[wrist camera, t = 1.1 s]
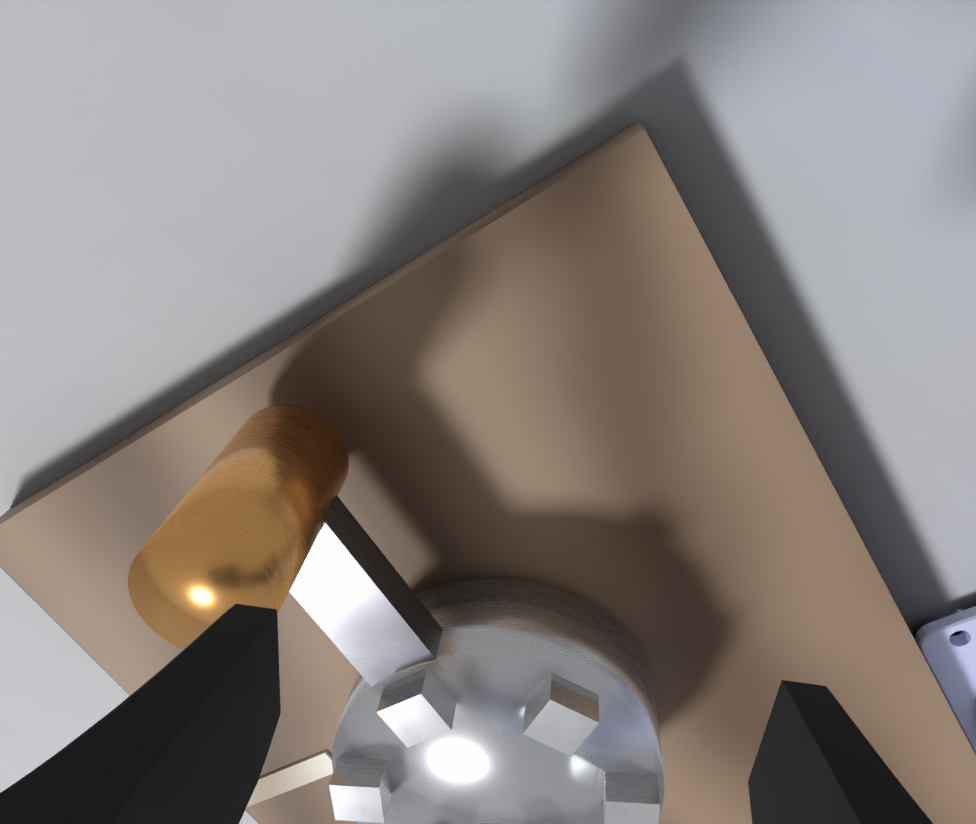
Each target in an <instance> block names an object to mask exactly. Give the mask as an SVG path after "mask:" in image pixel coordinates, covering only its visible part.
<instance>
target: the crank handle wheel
mask: <svg viewBox="0 0 976 824" xmlns="http://www.w3.org/2000/svg"><path fill="white" fill-rule="evenodd" d="M348 469H349V457H348V452H347V449H346V446H345V443H344V442H343V440H342V438H341V436H340V435H339V433H338V432H337V431H336V429H335V428H334V427H333V426H332V425H331V424H330V423H329V422H328V421H326V420H325V419H324V418H322V417H321V416H319V415H318V414H316V413H314V412H312V411H310V410H307V409H304V408H301V407H297V406H292V405H276V406H271V407H267V408H264V409H262V410H260V411H258V412H256V413H255V414H253V415H252V416H251V417H250V418H248V419H247V420H246V422H245V423H244V424H243V425H242V427H241V428H240V429H239V430H238V432H237V433H236V434H235V435H234V436H233V438H232V439H231V440H230V441H229V443H228V444H227V445H226V446H225V447H224V449H223V450H222V451H221V452H220V454H219V455H218V456H217V457H216V458H215V460H214V461H213V462H212V463H211V465H210V466H209V467H208V468H207V469H206V471H205V472H204V473H203V474H202V476H201V477H200V478H199V479H198V480H197V482H196V483H195V484H194V485H193V487H192V488H191V489H190V490H189V492H188V493H187V494H186V495H185V496H184V498H183V499H182V500H181V501H180V503H179V504H178V505H177V506H176V507H175V509H174V510H173V511H172V512H171V514H170V515H169V516H168V517H167V518H166V520H165V521H164V522H163V523H162V525H161V526H160V527H159V528H158V529H157V531H156V532H155V533H154V534H153V536H152V537H151V538H150V539H149V541H148V542H147V543H146V544H145V545H144V547H143V548H142V549H141V550H140V552H139V553H138V554H137V555H136V557H135V558H134V560H133V562H132V564H131V566H130V569H129V573H128V590H129V594H130V598H131V600H132V603H133V605H134V607H135V609H136V611H137V612H138V614H139V615H140V617H141V618H142V619H143V621H144V622H145V623H146V624H147V625H148V626H149V627H150V628H151V629H152V630H153V631H154V632H155V633H157V634H158V635H159V636H160V637H162V638H163V639H165V640H166V641H168V642H170V643H171V644H173V645H175V646H177V647H179V648H182V649H185V648H186V647H187V646H188V645H189V644H191V643H192V642H193V641H194V640H195V639H196V638H197V637H198V636H199V635H200V634H202V633H203V632H204V631H205V630H206V629H207V628H208V627H209V626H210V625H212V624H213V623H214V622H215V621H216V620H217V619H218V618H219V617H220V616H221V615H223V614H224V613H225V612H226V611H227V610H228V609H229V608H231V607H232V606H234V605H235V604H242V605H249V606H257V607H264V608H271V609H277V616H278V614H279V612H280V610H281V608H282V606H283V604H284V602H285V600H286V598H287V596H288V594H289V592H290V593H291V594H292V595H293V596H294V598H295V599H296V600H297V601H298V602H299V603H300V605H301V606H302V607H303V608H304V609H305V610H306V611H307V613H308V614H309V615H310V616H311V617H312V618H313V620H314V621H315V622H316V623H317V624H318V625H319V627H320V628H321V629H322V630H323V631H324V632H325V634H326V635H327V636H328V637H329V638H330V639H331V641H332V642H333V643H334V644H335V645H336V646H337V648H338V649H339V650H340V651H341V652H342V653H343V654H344V656H345V657H346V658H347V659H348V660H349V661H350V663H351V664H352V665H353V666H354V667H355V668H356V670H357V673H356V676H355V679H354V682H353V685H352V688H351V691H350V694H349V697H348V700H347V703H346V706H345V709H344V712H343V715H342V718H341V721H340V724H339V727H338V730H337V733H336V736H335V740H334V743H333V752H332V767H333V774H332V777H331V780H330V783H329V788H330V793H331V799H332V804H333V810H334V815H335V820H343V821H356V822H357V824H659V814H660V812H661V809H662V804H663V798H664V772H663V763H662V754H661V744H660V735H659V726H658V716H657V707H656V698H655V688H654V683H653V678H652V674H651V671H650V668H649V666H648V663H647V661H646V658H645V656H644V655H643V653H642V651H641V649H640V648H639V646H638V644H637V643H636V642H635V640H634V639H633V638H632V637H631V635H630V634H629V633H628V632H627V630H626V629H625V628H623V627H622V626H621V625H620V624H619V623H618V622H617V621H616V620H615V619H614V618H613V617H612V616H610V615H609V614H608V613H606V612H605V611H603V610H602V609H601V608H599V607H598V606H596V605H595V604H593V603H591V602H589V601H588V600H586V599H584V598H582V597H581V596H578V595H576V594H574V593H571V592H569V591H567V590H564V589H562V588H559V587H556V586H552V585H549V584H546V583H542V582H538V581H533V580H527V579H522V578H512V577H500V576H497V577H475V578H467V579H460V580H455V581H451V582H447V583H443V584H440V585H437V586H434V587H432V588H429V589H427V590H424V591H422V592H420V593H418V594H416V595H415V593H414V592H413V591H412V589H411V588H410V587H409V586H408V584H407V583H406V582H405V581H404V579H403V578H402V577H401V576H400V574H399V573H398V572H397V571H396V569H395V568H394V567H393V565H392V564H391V563H390V562H389V560H388V559H387V558H386V557H385V555H384V554H383V553H382V552H381V550H380V549H379V548H378V547H377V545H376V544H375V543H374V541H373V540H372V539H371V538H370V536H369V535H368V534H367V533H366V531H365V530H364V529H363V528H362V526H361V525H360V524H359V523H358V521H357V520H356V519H355V517H354V516H353V515H352V514H351V512H350V511H349V510H348V509H347V507H346V506H345V505H344V504H343V502H342V501H341V500H340V499H339V497H338V494H339V492H340V490H341V488H342V486H343V484H344V482H345V480H346V477H347V474H348Z"/></svg>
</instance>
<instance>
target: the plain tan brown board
mask: <svg viewBox="0 0 976 824" xmlns="http://www.w3.org/2000/svg"><path fill="white" fill-rule="evenodd" d="M276 405H292V406H297V407H301V408H304V409H307V410H310V411H312V412H314V413H316V414H318V415H319V416H321V417H322V418H324V419H325V420H326V421H328V422H329V423H330V424H331V425H332V426H333V427H334V428H335V429H336V431H337V432H338V433H339V435H340V436H341V438H342V440H343V442H344V443H345V446H346V449H347V452H348V457H349V469H348V474H347V477H346V480H345V482H344V484H343V486H342V488H341V490H340V492H339V494H338V497H339V499H340V500H341V501H342V502H343V504H344V505H345V506H346V507H347V509H348V510H349V511H350V512H351V514H352V515H353V516H354V517H355V519H356V520H357V521H358V523H359V524H360V525H361V526H362V528H363V529H364V530H365V531H366V533H367V534H368V535H369V536H370V538H371V539H372V540H373V541H374V543H375V544H376V545H377V547H378V548H379V549H380V550H381V552H382V553H383V554H384V555H385V557H386V558H387V559H388V560H389V562H390V563H391V564H392V565H393V567H394V568H395V569H396V571H397V572H398V573H399V574H400V576H401V577H402V578H403V579H404V581H405V582H406V583H407V584H408V586H409V587H410V588H411V589H412V591H413V592H414V593H415V595H416V594H418V593H420V592H422V591H424V590H427V589H429V588H432V587H434V586H437V585H440V584H443V583H447V582H451V581H455V580H460V579H467V578H475V577H497V576H500V577H512V578H522V579H527V580H533V581H538V582H542V583H546V584H549V585H552V586H556V587H559V588H562V589H564V590H567V591H569V592H571V593H574V594H576V595H578V596H581V597H582V598H584V599H586V600H588V601H589V602H591V603H593V604H595V605H596V606H598V607H599V608H601V609H602V610H603V611H605V612H606V613H608V614H609V615H610V616H612V617H613V618H614V619H615V620H616V621H617V622H618V623H619V624H620V625H621V626H622V627H623V628H625V629H626V630H627V632H628V633H629V634H630V635H631V637H632V638H633V639H634V640H635V642H636V643H637V644H638V646H639V648H640V649H641V651H642V653H643V655H644V656H645V658H646V661H647V663H648V666H649V668H650V671H651V674H652V678H653V683H654V688H655V698H656V707H657V716H658V726H659V735H660V744H661V754H662V763H663V772H664V798H663V804H662V809H661V812H660V814H659V824H752V815H751V806H750V796H749V787H748V780H749V777H750V774H751V771H752V768H753V765H754V762H755V759H756V756H757V753H758V750H759V747H760V744H761V741H762V738H763V735H764V732H765V729H766V726H767V723H768V720H769V717H770V714H771V711H772V708H773V705H774V702H775V699H776V696H777V693H778V690H779V687H780V684H781V681H782V680H786V681H793V682H801V683H808V684H815V685H822V686H827V688H828V689H829V690H830V692H831V693H832V694H833V695H834V697H835V698H836V699H837V701H838V702H839V703H840V705H841V706H842V707H843V709H844V710H845V711H846V713H847V714H848V715H849V717H850V718H851V719H852V720H853V722H854V723H855V724H856V726H857V727H858V728H859V730H860V731H861V732H862V734H863V735H864V736H865V738H866V739H867V740H868V742H869V743H870V744H871V745H872V747H873V748H874V749H875V751H876V752H877V753H878V755H879V756H880V757H881V758H882V760H883V761H884V762H885V764H886V765H887V766H888V768H889V769H890V770H891V771H892V773H893V774H894V775H895V777H896V778H897V779H898V780H899V782H900V783H901V784H902V786H903V787H904V788H905V789H906V791H907V792H908V793H909V794H910V796H911V797H912V798H913V799H914V801H915V802H916V803H917V804H918V806H919V807H920V808H921V809H922V810H923V812H924V813H925V814H926V815H927V817H928V818H929V819H930V820H931V822H932V823H933V824H976V755H975V753H974V751H973V749H972V747H971V745H970V744H969V742H968V740H967V738H966V736H965V734H964V732H963V730H962V728H961V727H960V725H959V723H958V721H957V719H956V717H955V715H954V713H953V711H952V709H951V708H950V706H949V704H948V702H947V700H946V698H945V696H944V694H943V692H942V691H941V689H940V687H939V685H938V683H937V681H936V679H935V677H934V675H933V673H932V672H931V670H930V668H929V666H928V664H927V662H926V660H925V658H924V656H923V655H922V653H921V651H920V649H919V647H918V645H917V643H916V641H915V639H914V638H913V636H912V634H911V632H910V630H909V628H908V626H907V624H906V622H905V620H904V619H903V617H902V615H901V613H900V611H899V609H898V607H897V605H896V603H895V602H894V600H893V598H892V596H891V594H890V592H889V590H888V588H887V586H886V584H885V583H884V581H883V579H882V577H881V575H880V573H879V571H878V569H877V567H876V566H875V564H874V562H873V560H872V558H871V556H870V554H869V552H868V550H867V549H866V547H865V545H864V543H863V541H862V539H861V537H860V535H859V533H858V531H857V530H856V528H855V526H854V524H853V522H852V520H851V518H850V516H849V514H848V513H847V511H846V509H845V507H844V505H843V503H842V501H841V499H840V497H839V495H838V494H837V492H836V490H835V488H834V486H833V484H832V482H831V480H830V478H829V477H828V475H827V473H826V471H825V469H824V467H823V465H822V463H821V461H820V460H819V458H818V456H817V454H816V452H815V450H814V448H813V446H812V444H811V442H810V441H809V439H808V437H807V435H806V433H805V431H804V429H803V427H802V425H801V424H800V422H799V420H798V418H797V416H796V414H795V412H794V410H793V408H792V406H791V405H790V403H789V401H788V399H787V397H786V395H785V393H784V391H783V389H782V388H781V386H780V384H779V382H778V380H777V378H776V376H775V374H774V372H773V371H772V369H771V367H770V365H769V363H768V361H767V359H766V357H765V355H764V353H763V352H762V350H761V348H760V346H759V344H758V342H757V340H756V338H755V336H754V335H753V333H752V331H751V329H750V327H749V325H748V323H747V321H746V319H745V317H744V316H743V314H742V312H741V310H740V308H739V306H738V304H737V302H736V300H735V299H734V297H733V295H732V293H731V291H730V289H729V287H728V285H727V283H726V282H725V280H724V278H723V276H722V274H721V272H720V270H719V268H718V266H717V264H716V263H715V261H714V259H713V257H712V255H711V253H710V251H709V249H708V247H707V246H706V244H705V242H704V240H703V238H702V236H701V234H700V232H699V230H698V228H697V227H696V225H695V223H694V221H693V219H692V217H691V215H690V213H689V211H688V210H687V208H686V206H685V204H684V202H683V200H682V198H681V196H680V194H679V193H678V191H677V189H676V187H675V185H674V183H673V181H672V179H671V177H670V175H669V174H668V172H667V170H666V168H665V166H664V164H663V162H662V160H661V158H660V157H659V155H658V153H657V151H656V149H655V147H654V145H653V143H652V141H651V139H650V138H649V136H648V134H647V132H646V130H645V128H644V126H643V124H642V122H641V121H640V120H638V121H636V122H635V123H633V124H632V125H630V126H628V127H627V128H625V129H624V130H622V131H620V132H619V133H617V134H615V135H614V136H612V137H611V138H609V139H607V140H606V141H604V142H603V143H601V144H599V145H598V146H596V147H594V148H593V149H591V150H590V151H588V152H586V153H585V154H583V155H582V156H580V157H578V158H577V159H575V160H573V161H572V162H570V163H569V164H567V165H565V166H564V167H562V168H561V169H559V170H557V171H556V172H554V173H552V174H551V175H549V176H548V177H546V178H544V179H543V180H541V181H540V182H538V183H536V184H535V185H533V186H531V187H530V188H528V189H527V190H525V191H523V192H522V193H520V194H519V195H517V196H515V197H514V198H512V199H510V200H509V201H507V202H506V203H504V204H502V205H501V206H499V207H497V208H496V209H494V210H493V211H491V212H489V213H488V214H486V215H485V216H483V217H481V218H480V219H478V220H476V221H475V222H473V223H472V224H470V225H468V226H467V227H465V228H464V229H462V230H460V231H459V232H457V233H455V234H454V235H452V236H451V237H449V238H447V239H446V240H444V241H443V242H441V243H439V244H438V245H436V246H434V247H433V248H431V249H430V250H428V251H426V252H425V253H423V254H422V255H420V256H418V257H417V258H415V259H413V260H412V261H410V262H409V263H407V264H405V265H404V266H402V267H401V268H399V269H397V270H396V271H394V272H392V273H391V274H389V275H388V276H386V277H384V278H383V279H381V280H380V281H378V282H376V283H375V284H373V285H371V286H370V287H368V288H367V289H365V290H363V291H362V292H360V293H359V294H357V295H355V296H354V297H352V298H350V299H349V300H347V301H346V302H344V303H342V304H341V305H339V306H338V307H336V308H334V309H333V310H331V311H329V312H328V313H326V314H325V315H323V316H321V317H320V318H318V319H317V320H315V321H313V322H312V323H310V324H308V325H307V326H305V327H304V328H302V329H300V330H299V331H297V332H296V333H294V334H292V335H291V336H289V337H287V338H286V339H284V340H283V341H281V342H279V343H278V344H276V345H275V346H273V347H271V348H270V349H268V350H266V351H265V352H263V353H262V354H260V355H258V356H257V357H255V358H253V359H252V360H250V361H249V362H247V363H245V364H244V365H242V366H241V367H239V368H237V369H236V370H234V371H232V372H231V373H229V374H228V375H226V376H224V377H223V378H221V379H220V380H218V381H216V382H215V383H213V384H211V385H210V386H208V387H207V388H205V389H203V390H202V391H200V392H199V393H197V394H195V395H194V396H192V397H190V398H189V399H187V400H186V401H184V402H182V403H181V404H179V405H178V406H176V407H174V408H173V409H171V410H169V411H168V412H166V413H165V414H163V415H161V416H160V417H158V418H157V419H155V420H153V421H152V422H150V423H148V424H147V425H145V426H144V427H142V428H140V429H139V430H137V431H136V432H134V433H132V434H131V435H129V436H127V437H126V438H124V439H123V440H121V441H119V442H118V443H116V444H115V445H113V446H111V447H110V448H108V449H106V450H105V451H103V452H102V453H100V454H98V455H97V456H95V457H94V458H92V459H90V460H89V461H87V462H85V463H84V464H82V465H81V466H79V467H77V468H76V469H74V470H73V471H71V472H69V473H68V474H66V475H64V476H63V477H61V478H60V479H58V480H56V481H55V482H53V483H52V484H50V485H48V486H47V487H45V488H43V489H42V490H40V491H39V492H37V493H35V494H34V495H32V496H30V497H29V498H27V499H26V500H24V501H22V502H21V503H19V504H18V505H16V506H14V507H13V508H11V509H9V510H8V511H7V512H6V513H5V514H3V515H2V516H1V517H0V567H1V568H2V569H3V570H4V571H5V572H6V573H7V574H8V575H9V576H10V577H11V578H12V579H13V580H14V581H15V582H16V583H17V584H18V585H19V586H20V587H21V588H22V589H23V590H24V591H25V592H26V593H27V594H28V595H29V596H30V597H31V598H32V599H33V600H34V601H35V602H36V603H37V604H38V605H39V606H40V607H41V608H42V609H43V610H44V611H45V612H46V613H47V614H48V615H49V616H50V617H51V618H52V619H53V620H54V621H55V622H56V623H57V624H58V625H59V626H60V627H61V628H62V629H63V630H64V631H65V632H66V633H67V634H68V635H69V636H70V637H71V638H72V639H73V640H74V641H75V642H76V643H77V644H78V645H79V646H80V647H81V648H82V649H83V650H84V651H85V652H86V653H87V654H88V655H89V656H90V657H91V658H92V659H93V660H94V661H95V662H96V663H97V664H98V665H99V666H100V667H101V668H102V669H103V670H104V671H105V672H106V673H107V674H108V675H109V676H110V677H111V678H112V679H113V680H114V681H115V682H116V683H117V684H118V685H119V686H120V687H122V688H123V689H124V690H125V691H126V692H127V693H128V694H129V695H132V694H133V693H134V692H135V691H136V690H137V689H139V688H140V687H141V686H142V685H143V684H145V683H146V682H147V681H148V680H149V679H151V678H152V677H153V676H154V675H155V674H156V673H158V672H159V671H160V670H161V669H162V668H163V667H165V666H166V665H167V664H168V663H169V662H170V661H171V660H173V659H174V658H175V657H176V656H177V655H178V654H179V653H180V652H182V651H183V650H184V649H182V648H179V647H177V646H175V645H173V644H171V643H170V642H168V641H166V640H165V639H163V638H162V637H160V636H159V635H158V634H157V633H155V632H154V631H153V630H152V629H151V628H150V627H149V626H148V625H147V624H146V623H145V622H144V621H143V619H142V618H141V617H140V615H139V614H138V612H137V611H136V609H135V607H134V605H133V603H132V600H131V598H130V594H129V590H128V573H129V569H130V566H131V564H132V562H133V560H134V558H135V557H136V555H137V554H138V553H139V552H140V550H141V549H142V548H143V547H144V545H145V544H146V543H147V542H148V541H149V539H150V538H151V537H152V536H153V534H154V533H155V532H156V531H157V529H158V528H159V527H160V526H161V525H162V523H163V522H164V521H165V520H166V518H167V517H168V516H169V515H170V514H171V512H172V511H173V510H174V509H175V507H176V506H177V505H178V504H179V503H180V501H181V500H182V499H183V498H184V496H185V495H186V494H187V493H188V492H189V490H190V489H191V488H192V487H193V485H194V484H195V483H196V482H197V480H198V479H199V478H200V477H201V476H202V474H203V473H204V472H205V471H206V469H207V468H208V467H209V466H210V465H211V463H212V462H213V461H214V460H215V458H216V457H217V456H218V455H219V454H220V452H221V451H222V450H223V449H224V447H225V446H226V445H227V444H228V443H229V441H230V440H231V439H232V438H233V436H234V435H235V434H236V433H237V432H238V430H239V429H240V428H241V427H242V425H243V424H244V423H245V422H246V420H247V419H248V418H250V417H251V416H252V415H253V414H255V413H256V412H258V411H260V410H262V409H264V408H267V407H271V406H276ZM277 618H278V647H279V676H280V705H281V714H280V717H279V720H278V723H277V726H276V729H275V732H274V736H273V739H272V742H271V745H270V748H269V751H268V754H267V757H266V760H265V763H264V765H263V768H262V771H261V774H260V777H259V780H258V783H257V785H256V787H255V789H254V791H253V794H252V796H251V798H250V800H249V802H248V805H247V807H246V809H245V811H246V812H247V813H248V814H249V815H250V816H251V817H252V818H253V819H254V820H255V821H256V822H257V823H258V824H357V822H356V821H343V820H335V815H334V810H333V804H332V799H331V793H330V788H329V783H330V780H331V777H332V774H333V767H332V752H333V743H334V740H335V736H336V733H337V730H338V727H339V724H340V721H341V718H342V715H343V712H344V709H345V706H346V703H347V700H348V697H349V694H350V691H351V688H352V685H353V682H354V679H355V676H356V673H357V670H356V668H355V667H354V666H353V665H352V664H351V663H350V661H349V660H348V659H347V658H346V657H345V656H344V654H343V653H342V652H341V651H340V650H339V649H338V648H337V646H336V645H335V644H334V643H333V642H332V641H331V639H330V638H329V637H328V636H327V635H326V634H325V632H324V631H323V630H322V629H321V628H320V627H319V625H318V624H317V623H316V622H315V621H314V620H313V618H312V617H311V616H310V615H309V614H308V613H307V611H306V610H305V609H304V608H303V607H302V606H301V605H300V603H299V602H298V601H297V600H296V599H295V598H294V596H293V595H292V594H291V593H290V592H289V594H288V596H287V598H286V600H285V602H284V604H283V606H282V608H281V610H280V612H279V614H278V616H277Z"/></svg>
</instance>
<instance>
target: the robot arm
mask: <svg viewBox="0 0 976 824" xmlns="http://www.w3.org/2000/svg"><path fill="white" fill-rule="evenodd" d="M962 630H963V632H962V633H960V634H959V635H956V636H951V634H953V633H954V632H956V631H962ZM915 639H916V643H917V645H918V647H919V649H920V651H921V653H922V655H923V656H924V658H925V660H926V662H927V664H928V666H929V668H930V670H931V672H932V673H933V675H934V677H935V679H936V681H937V683H938V685H939V687H940V689H941V691H942V692H943V694H944V696H945V698H946V700H947V702H948V704H949V706H950V708H951V709H952V711H953V713H954V715H955V717H956V719H957V721H958V723H959V725H960V727H961V728H962V730H963V732H964V734H965V736H966V738H967V740H968V742H969V744H970V745H971V747H972V749H973V751H974V753H975V755H976V606H975V607H972V608H969V609H966V610H963V611H961V612H958V613H955V614H952V615H949V616H947V617H944V618H941V619H938V620H936V621H933V622H930V623H928V624H926V625H924V626H922V627H921V628H920V629H919V630H918V631H917V633H916V636H915ZM280 714H281V705H280V676H279V647H278V618H277V609H271V608H264V607H257V606H249V605H242V604H235V605H234V606H232V607H231V608H229V609H228V610H227V611H226V612H225V613H224V614H223V615H221V616H220V617H219V618H218V619H217V620H216V621H215V622H214V623H213V624H212V625H210V626H209V627H208V628H207V629H206V630H205V631H204V632H203V633H202V634H200V635H199V636H198V637H197V638H196V639H195V640H194V641H193V642H192V643H191V644H189V645H188V646H187V647H186V648H185V649H184V650H183V651H182V652H180V653H179V654H178V655H177V656H176V657H175V658H174V659H173V660H171V661H170V662H169V663H168V664H167V665H166V666H165V667H163V668H162V669H161V670H160V671H159V672H158V673H156V674H155V675H154V676H153V677H152V678H151V679H149V680H148V681H147V682H146V683H145V684H143V685H142V686H141V687H140V688H139V689H137V690H136V691H135V692H134V693H133V694H132V695H130V696H129V697H128V698H127V699H126V700H124V701H123V702H122V703H121V704H120V705H118V706H117V707H116V708H115V709H114V710H112V711H111V712H110V713H109V714H107V715H106V716H105V717H103V718H102V719H101V720H100V721H98V722H97V723H96V724H94V725H93V726H92V727H90V728H89V729H88V730H87V731H85V732H84V733H83V734H81V735H80V736H79V737H78V738H76V739H75V740H74V741H72V742H71V743H70V744H68V745H67V746H66V747H65V748H63V749H62V750H61V751H59V752H58V753H57V754H55V755H54V756H53V757H51V758H50V759H49V760H47V761H46V762H44V763H43V764H42V765H40V766H39V767H37V768H36V769H35V770H33V771H32V772H30V773H29V774H28V775H26V776H25V777H23V778H22V779H20V780H19V781H17V782H16V783H15V784H13V785H12V786H10V787H9V788H7V789H6V790H4V791H3V792H1V793H0V824H239V822H240V820H241V818H242V815H243V813H244V811H245V809H246V807H247V805H248V802H249V800H250V798H251V796H252V794H253V791H254V789H255V787H256V785H257V783H258V780H259V777H260V774H261V771H262V768H263V765H264V763H265V760H266V757H267V754H268V751H269V748H270V745H271V742H272V739H273V736H274V732H275V729H276V726H277V723H278V720H279V717H280ZM748 787H749V796H750V806H751V815H752V824H933V823H932V822H931V820H930V819H929V818H928V817H927V815H926V814H925V813H924V812H923V810H922V809H921V808H920V807H919V806H918V804H917V803H916V802H915V801H914V799H913V798H912V797H911V796H910V794H909V793H908V792H907V791H906V789H905V788H904V787H903V786H902V784H901V783H900V782H899V780H898V779H897V778H896V777H895V775H894V774H893V773H892V771H891V770H890V769H889V768H888V766H887V765H886V764H885V762H884V761H883V760H882V758H881V757H880V756H879V755H878V753H877V752H876V751H875V749H874V748H873V747H872V745H871V744H870V743H869V742H868V740H867V739H866V738H865V736H864V735H863V734H862V732H861V731H860V730H859V728H858V727H857V726H856V724H855V723H854V722H853V720H852V719H851V718H850V717H849V715H848V714H847V713H846V711H845V710H844V709H843V707H842V706H841V705H840V703H839V702H838V701H837V699H836V698H835V697H834V695H833V694H832V693H831V692H830V690H829V689H828V688H827V686H822V685H815V684H808V683H801V682H793V681H786V680H782V681H781V684H780V687H779V690H778V693H777V696H776V699H775V702H774V705H773V708H772V711H771V714H770V717H769V720H768V723H767V726H766V729H765V732H764V735H763V738H762V741H761V744H760V747H759V750H758V753H757V756H756V759H755V762H754V765H753V768H752V771H751V774H750V777H749V780H748Z"/></svg>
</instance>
